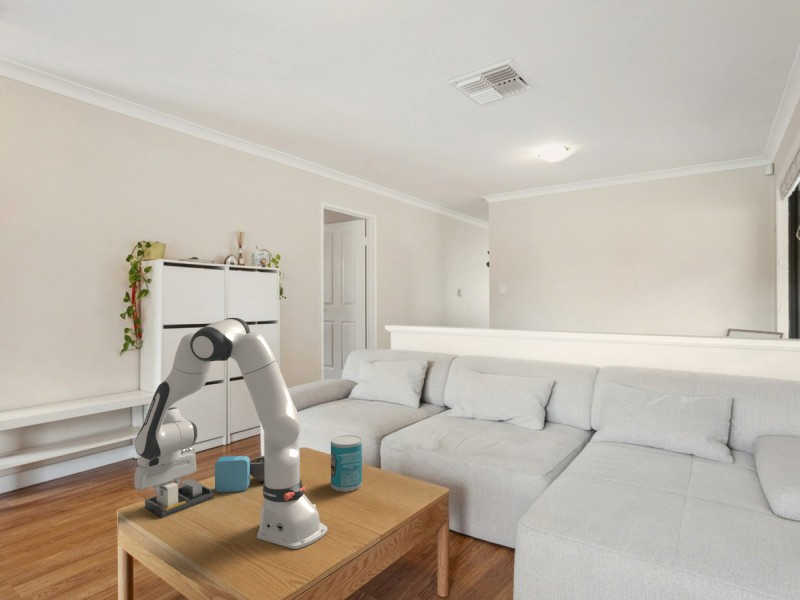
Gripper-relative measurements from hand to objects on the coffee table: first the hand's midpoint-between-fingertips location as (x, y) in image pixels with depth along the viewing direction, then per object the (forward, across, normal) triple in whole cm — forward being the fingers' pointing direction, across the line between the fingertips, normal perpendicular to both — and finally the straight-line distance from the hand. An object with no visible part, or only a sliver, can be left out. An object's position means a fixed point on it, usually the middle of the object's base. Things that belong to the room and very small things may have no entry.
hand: (167, 493), depth 159 cm
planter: (+5, -38, +9) cm, 39 cm away
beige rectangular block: (+3, 0, 0) cm, 3 cm away
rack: (+5, -4, 0) cm, 7 cm away
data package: (+5, -22, +5) cm, 24 cm away
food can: (+5, -50, +38) cm, 63 cm away
